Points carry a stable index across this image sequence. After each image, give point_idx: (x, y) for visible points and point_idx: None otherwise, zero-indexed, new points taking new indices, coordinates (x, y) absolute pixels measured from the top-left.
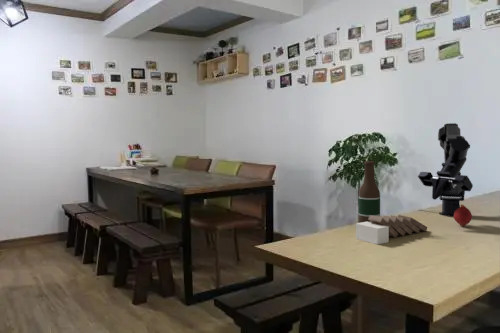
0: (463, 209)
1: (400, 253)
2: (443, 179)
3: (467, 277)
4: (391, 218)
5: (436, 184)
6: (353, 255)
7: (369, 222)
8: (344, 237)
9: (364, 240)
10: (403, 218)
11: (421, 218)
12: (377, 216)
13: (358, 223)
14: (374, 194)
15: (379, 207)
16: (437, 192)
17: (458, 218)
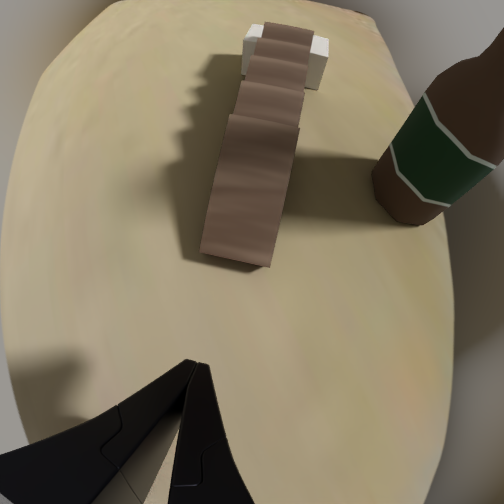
0: None
1: (182, 43)
2: (10, 492)
3: (78, 42)
4: (269, 59)
5: (170, 489)
6: (244, 15)
7: (314, 51)
8: (343, 69)
9: None
10: (241, 82)
11: (342, 492)
12: (307, 47)
13: (324, 40)
14: (435, 79)
15: (412, 148)
16: (146, 387)
17: None
